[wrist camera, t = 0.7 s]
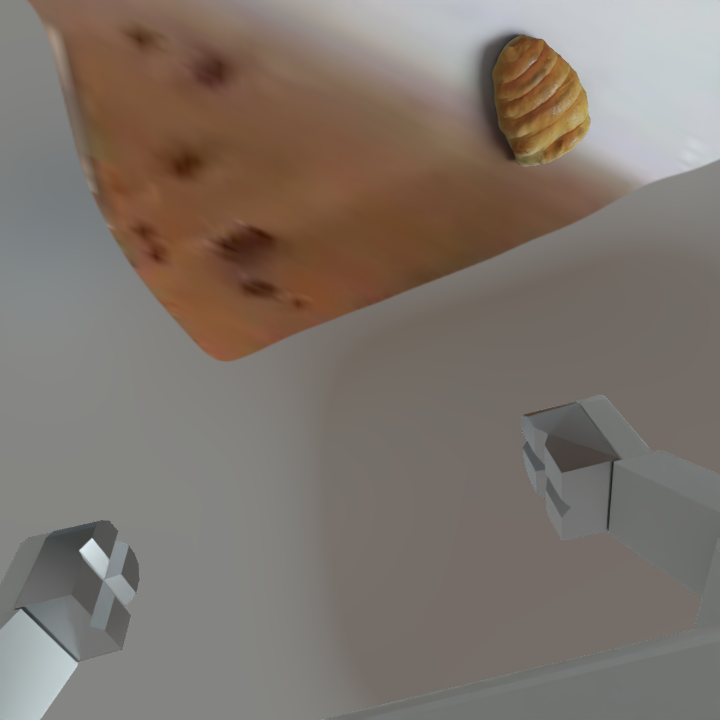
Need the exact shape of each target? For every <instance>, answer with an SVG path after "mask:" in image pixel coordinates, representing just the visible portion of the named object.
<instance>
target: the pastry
mask: <svg viewBox="0 0 720 720" xmlns="http://www.w3.org/2000/svg"><path fill="white" fill-rule="evenodd" d="M492 78H493V86H494V102H495V106H496V113H497V115H498V125H499V129H500V130H501V131H502V132H503V133H504V134H505V135H506V138H507V141H508V143H509V145H510V147H511V149H512V150H513V153H514V154H515V159H516V162H517V164H519V165H521V166H535V165H538V164H540V163H541V164H544V163H548V162H551V161H553V160H554V159H557V158H559V157H561V156H562V155H564V154H566V153H567V152H569V151H571V150H572V149H573V148H574V147H575V146H576V144H577V143H578V142H580V141H581V140H582V139H583V138H584V137H585V135H586V133H587V132H588V129H589V126H590V117H589V114H588V102H587V95H586V92H585V90H584V89H583V87H582V85H581V83H580V81H579V78H578V76H577V73H576V72H575V71H574V70H573V69H572V68H571V66H570V65H569V64H568V63H567V62H566V61H565V60H563V59H562V57H561V56H560V55H559V54H557V53H556V52H555V51H554V50H553V49H552V48H550V47H549V46H548V45H547V44H546V42H545V41H544V40H543V39H536V38H532V37H529V36H525V35H519V36H517V37H516V38H514V39H512V40H511V41H510V42H508V43H507V44H506V45H505V47H504V48H503V50H502V51H501V53H500V55H499V57H498V59H497V62H496V64H495V66H494V69H493V72H492Z"/></svg>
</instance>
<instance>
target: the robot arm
mask: <svg viewBox="0 0 720 720" xmlns="http://www.w3.org/2000/svg"><path fill="white" fill-rule="evenodd" d="M521 427H522V432H523V434H524V435H525V437H526V439H527V442H526V443H525V445H524V446H523V455H524V462H525V466H526V470H527V474H528V476H529V479H530V481H531V484H532V486H533V488H534V490H535V491H536V493H537V495H539V496H541V497H543V498H544V499H546V508H547V509H546V510H547V514H548V516H549V518H550V520H551V522H552V524H553V526H554V527H555V529H556V531H557V533H558V535H559V537H560V539H561V540H562V541H567V540H572V539H577V538H581V537H586V536H590V535H595V534H600V533H604V532H608V533H609V535H611V536H612V537H614V538H615V539H617V540H618V541H620V542H621V543H623V544H624V545H626V546H627V547H628V548H630V549H631V550H633V551H634V552H636V553H637V554H639V555H640V556H641V557H643V558H644V559H646V560H647V561H649V562H650V563H652V564H653V565H655V566H656V567H658V568H659V569H661V570H662V571H663V572H665V573H666V574H668V575H670V576H671V577H672V578H674V579H675V580H677V581H678V582H680V583H681V584H683V585H684V586H685V587H687V588H688V589H690V590H691V591H693V592H694V593H696V594H697V595H699V596H700V597H702V601H701V605H700V608H699V612H698V616H697V620H696V624H695V627H694V629H693V630H689V631H686V632H681V633H677V634H673V635H669V636H665V637H660V638H656V639H652V640H648V641H644V642H640V643H636V644H631V645H627V646H623V647H619V648H616V649H611V650H607V651H603V652H598V653H594V654H590V655H586V656H582V657H578V658H574V659H570V660H566V661H562V662H557V663H553V664H549V665H545V666H541V667H537V668H533V669H528V670H524V671H520V672H516V673H512V674H507V675H503V676H499V677H495V678H491V679H487V680H483V681H478V682H474V683H470V684H466V685H462V686H458V687H453V688H450V689H445V690H441V691H437V692H433V693H429V694H425V695H420V696H417V697H412V698H408V699H404V700H400V701H395V702H392V703H387V704H383V705H379V706H375V707H371V708H367V709H362V710H358V711H354V712H350V713H346V714H342V715H337V716H333V717H329V718H325V719H321V720H720V474H717V473H715V472H712V471H710V470H707V469H705V468H703V467H700V466H698V465H695V464H693V463H691V462H688V461H686V460H683V459H681V458H679V457H676V456H674V455H671V454H669V453H667V452H664V451H662V450H659V451H655V452H652V451H651V450H650V448H649V447H648V446H647V445H646V444H645V442H644V441H643V440H642V439H641V438H640V437H639V435H638V434H637V433H636V432H635V431H634V430H633V428H632V427H631V426H630V425H629V424H628V423H627V421H625V419H624V418H623V417H622V416H621V414H620V413H619V412H618V411H617V410H616V408H615V407H614V406H613V405H612V404H611V403H610V401H609V400H608V399H607V398H606V397H605V396H603V395H596V396H593V397H589V398H585V399H581V400H577V401H574V402H570V403H566V404H563V405H559V406H555V407H551V408H547V409H543V410H539V411H536V412H532V413H528V414H524V415H522V419H521ZM117 534H118V530H117V529H116V528H115V527H114V525H113V524H112V523H111V522H110V521H108V520H101V521H97V522H92V523H88V524H83V525H79V526H75V527H70V528H66V529H62V530H57V531H53V532H51V533H46V534H42V535H37V536H32V537H28V538H27V539H26V540H25V541H23V542H22V543H21V544H20V546H19V548H18V550H17V552H16V554H15V556H14V558H13V560H12V562H11V564H10V566H9V568H8V570H7V572H6V575H5V577H4V578H3V580H2V583H1V585H0V720H40V719H41V718H42V716H43V715H44V713H45V712H46V710H47V709H48V707H49V706H50V704H51V703H52V702H53V700H54V699H55V697H56V696H57V695H58V693H59V692H60V690H61V689H62V687H63V686H64V684H65V683H66V682H67V680H68V678H69V677H70V676H71V674H72V673H73V672H74V670H75V669H76V667H77V666H78V663H77V662H79V661H82V660H86V659H90V658H94V657H97V656H101V655H104V654H108V653H112V652H115V651H119V650H122V648H123V644H124V640H125V636H126V632H127V628H128V624H129V620H130V617H131V615H130V613H129V611H128V610H127V608H126V605H127V604H128V603H129V602H130V600H131V599H132V598H133V597H134V596H135V594H136V592H137V588H138V583H139V565H138V561H137V559H136V556H135V553H134V552H133V550H132V549H131V548H130V546H129V545H126V544H124V543H122V542H119V541H117V540H116V537H117Z"/></svg>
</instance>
